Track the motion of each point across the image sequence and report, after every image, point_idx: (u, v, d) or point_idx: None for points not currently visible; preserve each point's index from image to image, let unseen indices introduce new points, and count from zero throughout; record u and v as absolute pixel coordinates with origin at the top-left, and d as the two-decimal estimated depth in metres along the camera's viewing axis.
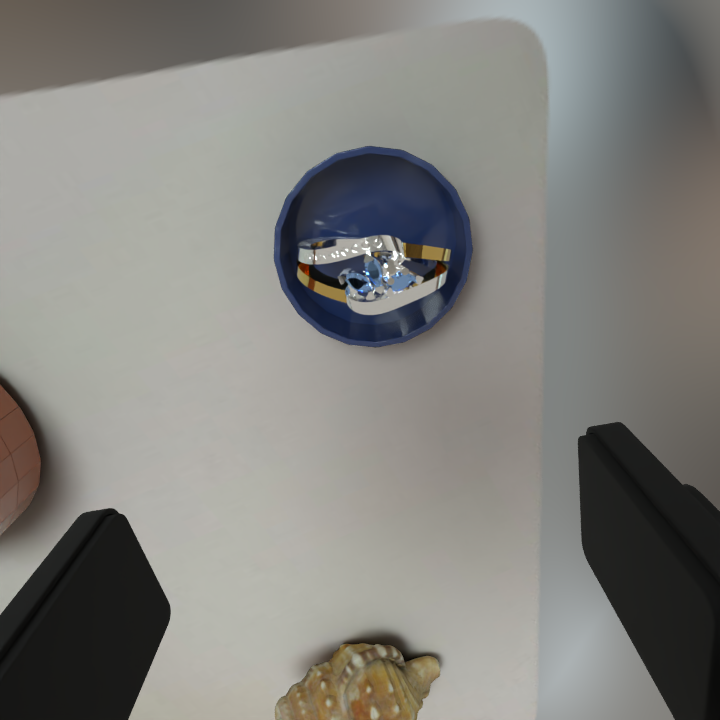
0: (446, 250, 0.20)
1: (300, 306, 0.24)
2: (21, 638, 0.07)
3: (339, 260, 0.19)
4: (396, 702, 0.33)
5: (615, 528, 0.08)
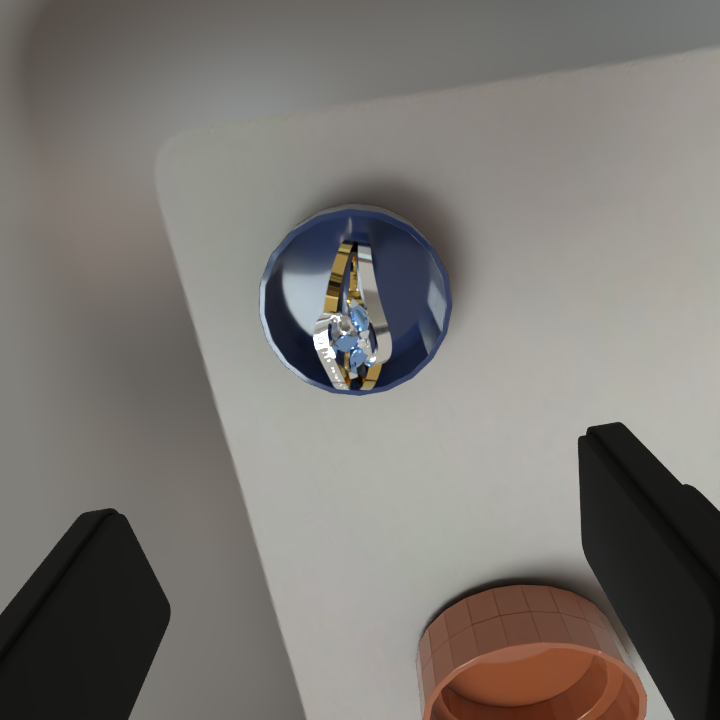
0: (337, 257, 0.20)
1: (405, 375, 0.25)
2: (21, 638, 0.07)
3: (339, 370, 0.20)
4: None
5: (615, 528, 0.08)
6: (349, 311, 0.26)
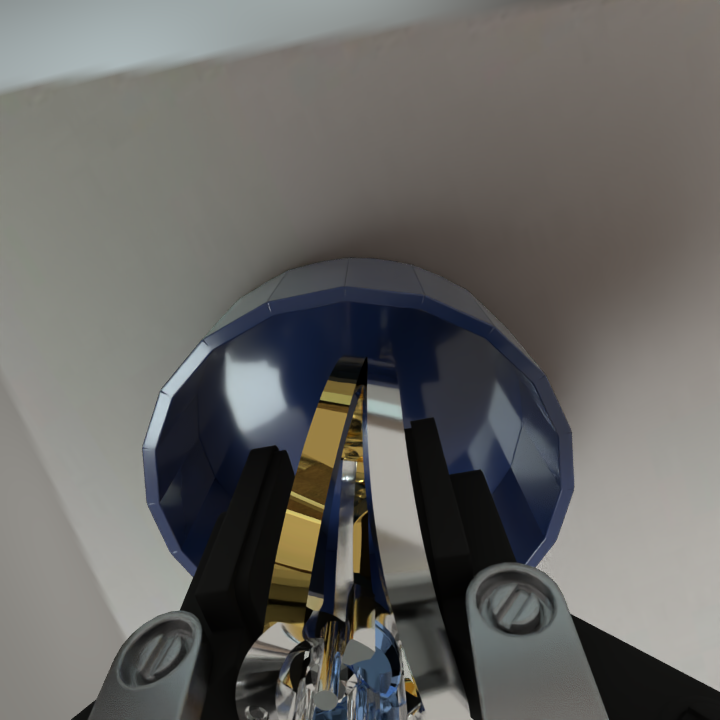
0: (308, 447, 0.07)
1: None
2: (251, 539, 0.08)
3: None
4: None
5: None
6: (346, 470, 0.13)
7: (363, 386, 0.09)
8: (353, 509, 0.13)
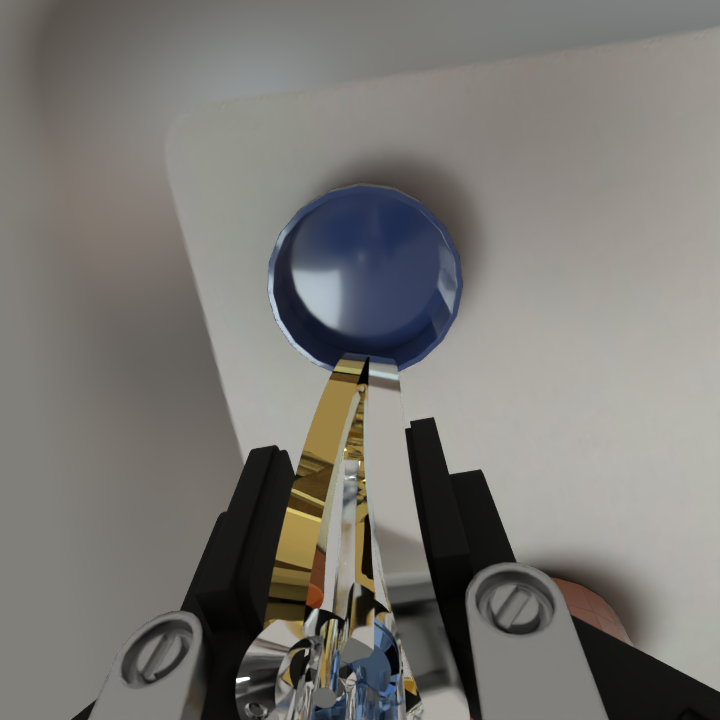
0: (309, 445, 0.07)
1: (414, 357, 0.25)
2: (251, 539, 0.08)
3: None
4: None
5: None
6: (349, 469, 0.13)
7: (365, 385, 0.09)
8: (356, 508, 0.13)
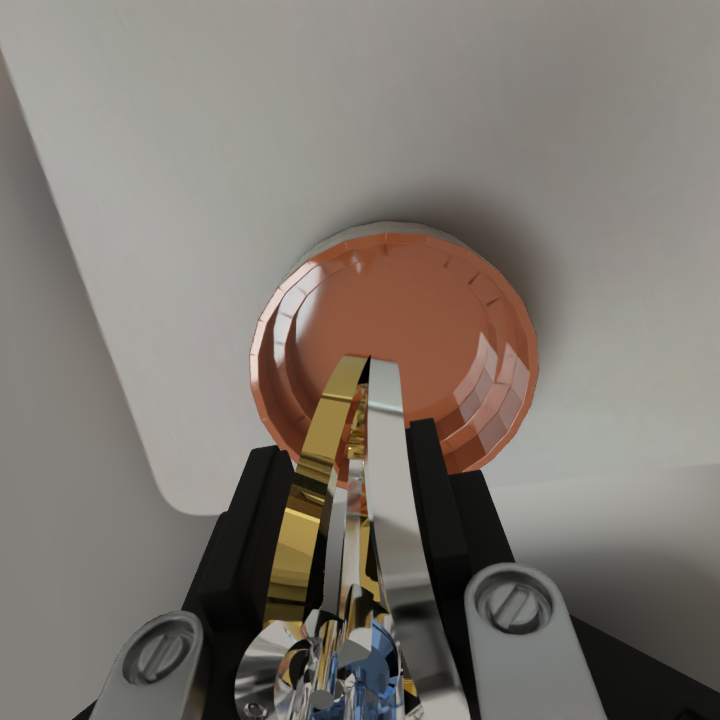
0: (308, 445, 0.07)
1: None
2: (252, 539, 0.08)
3: None
4: None
5: None
6: (353, 469, 0.13)
7: (367, 385, 0.09)
8: (360, 508, 0.13)
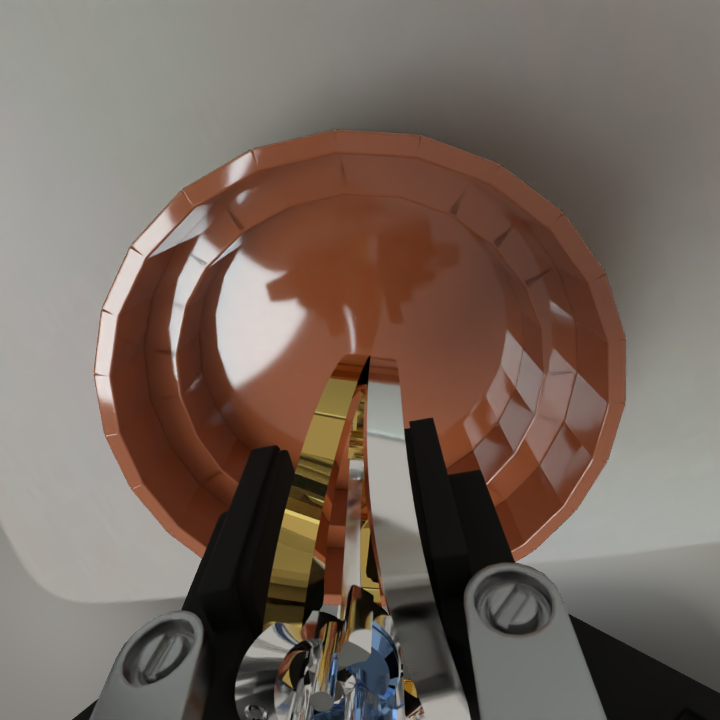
0: (307, 447, 0.07)
1: None
2: (253, 539, 0.08)
3: None
4: None
5: None
6: (353, 470, 0.13)
7: (366, 385, 0.09)
8: (361, 509, 0.13)
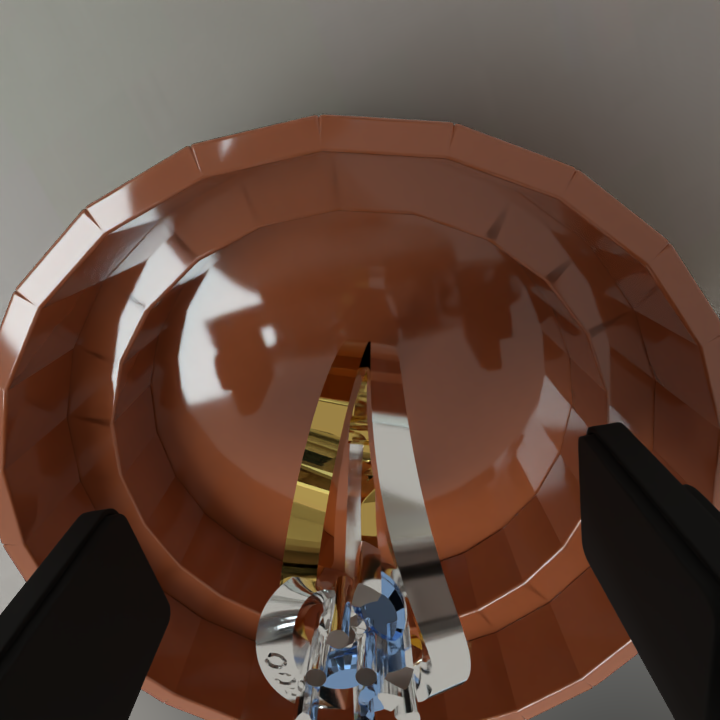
0: (317, 418, 0.08)
1: None
2: (21, 638, 0.07)
3: (329, 705, 0.08)
4: None
5: (615, 528, 0.08)
6: (353, 453, 0.13)
7: (367, 368, 0.10)
8: (361, 491, 0.13)
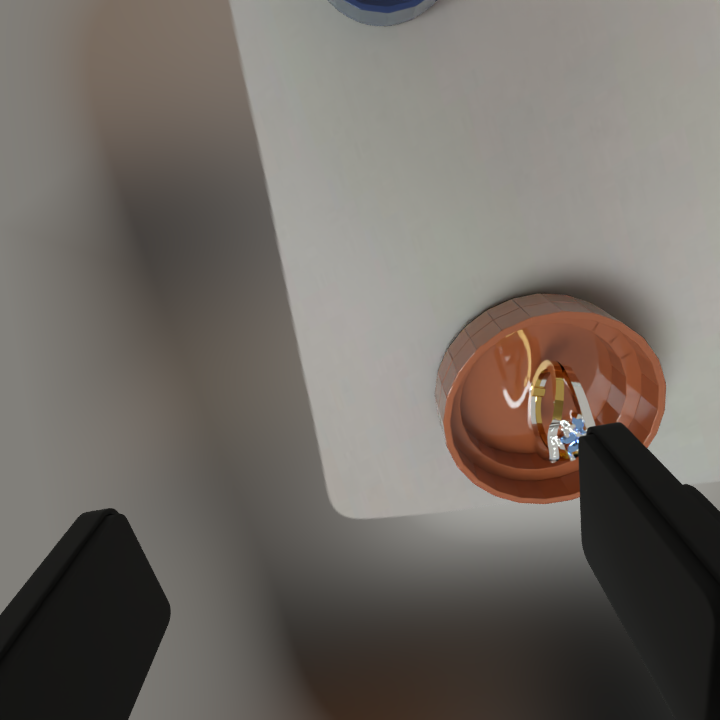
0: (557, 381, 0.31)
1: None
2: (21, 638, 0.07)
3: (558, 454, 0.31)
4: None
5: (615, 528, 0.08)
6: (532, 400, 0.36)
7: None
8: (535, 413, 0.36)
